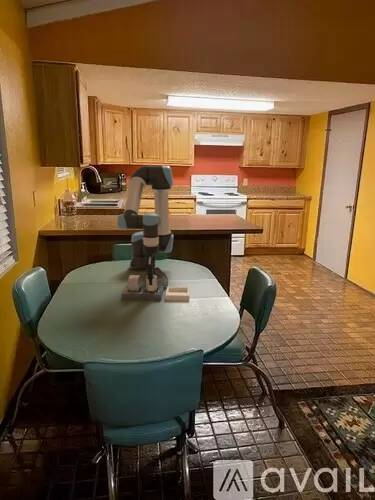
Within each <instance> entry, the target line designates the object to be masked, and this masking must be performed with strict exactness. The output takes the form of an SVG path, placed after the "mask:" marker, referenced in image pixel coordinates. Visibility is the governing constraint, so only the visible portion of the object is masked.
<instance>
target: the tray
mask: <svg viewBox="0 0 375 500" xmlns="http://www.w3.org/2000/svg"><path fill="white" fill-rule="evenodd" d="M190 290H191V287H190V286H168V287H166V291H165V297H164V298H165V301H190V293H191V291H190Z"/></svg>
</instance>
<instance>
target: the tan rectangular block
mask: <svg viewBox="0 0 375 500" xmlns="http://www.w3.org/2000/svg"><path fill="white" fill-rule="evenodd" d="M147 277H148V275H147V274H146V277H145V282H146V283H145V286H146V292H157V276H153V278H154V291H148V279H147Z"/></svg>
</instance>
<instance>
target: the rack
mask: <svg viewBox="0 0 375 500" xmlns="http://www.w3.org/2000/svg"><path fill="white" fill-rule="evenodd" d="M164 289H165V288H164V286H157V292H146V284H145V285H141V284H140V292H129V284H128V285H127V284H125V287H124V289H123V290H122V292H121V300H134V301H135V300H139V301H140V300H142V301H143V300H144V301H145V300H146V301H162V299H163V296H164V291H165V290H164Z"/></svg>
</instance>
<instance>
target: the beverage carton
mask: <svg viewBox="0 0 375 500" xmlns="http://www.w3.org/2000/svg"><path fill="white" fill-rule="evenodd" d="M145 272H146V276H147V275H148V270H147V269H146V271H145ZM155 272H156V274H154V275H155V276H157V286H164V289H165V288H167V287H169V277H168V276H167V275H166V274H165V273H164V271H163V270H162V269H161V268H160V267H159V266H157V267H156V266H155Z"/></svg>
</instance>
